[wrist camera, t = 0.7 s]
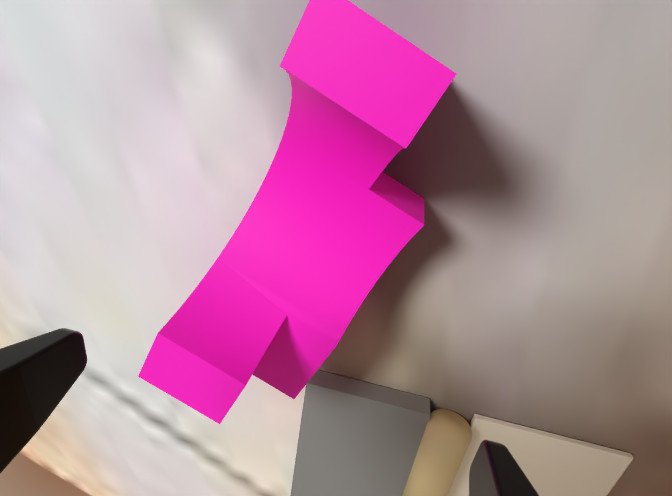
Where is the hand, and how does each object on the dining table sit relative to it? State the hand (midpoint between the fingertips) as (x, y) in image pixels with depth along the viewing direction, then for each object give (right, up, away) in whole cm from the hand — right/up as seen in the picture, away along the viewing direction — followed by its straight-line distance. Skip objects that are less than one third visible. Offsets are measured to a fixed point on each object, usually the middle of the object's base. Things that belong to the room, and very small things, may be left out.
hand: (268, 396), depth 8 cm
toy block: (+2, +5, +11) cm, 12 cm away
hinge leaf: (+3, -13, +18) cm, 23 cm away
